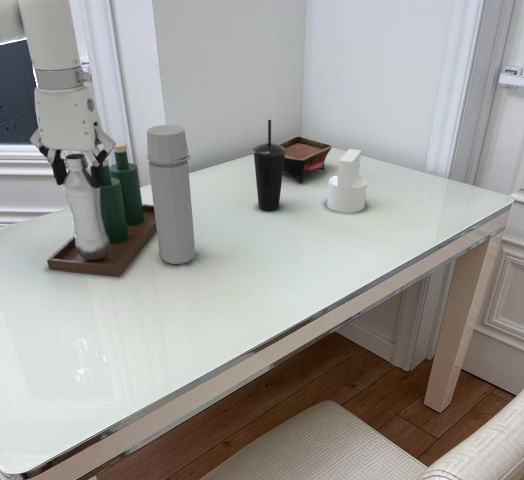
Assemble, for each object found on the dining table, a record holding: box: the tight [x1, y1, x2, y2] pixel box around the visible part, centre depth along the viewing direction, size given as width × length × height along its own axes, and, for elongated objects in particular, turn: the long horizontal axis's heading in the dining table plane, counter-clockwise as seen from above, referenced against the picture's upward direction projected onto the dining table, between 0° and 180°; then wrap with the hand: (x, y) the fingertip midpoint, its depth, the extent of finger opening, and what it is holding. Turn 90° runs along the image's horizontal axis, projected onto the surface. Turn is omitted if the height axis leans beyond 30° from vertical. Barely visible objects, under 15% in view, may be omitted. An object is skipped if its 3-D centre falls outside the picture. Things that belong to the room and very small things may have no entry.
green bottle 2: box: [100, 157, 129, 243], centre depth 113 cm, size 6×6×17 cm
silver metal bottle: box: [62, 152, 110, 260], centre depth 105 cm, size 6×7×20 cm
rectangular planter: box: [277, 135, 333, 184], centre depth 149 cm, size 14×18×10 cm
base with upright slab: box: [326, 148, 368, 214], centre depth 129 cm, size 9×9×12 cm
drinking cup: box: [251, 119, 286, 212], centre depth 126 cm, size 8×8×20 cm
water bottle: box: [146, 124, 196, 265], centre depth 105 cm, size 9×8×25 cm
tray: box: [46, 203, 157, 278], centre depth 117 cm, size 15×30×2 cm, turn 168°
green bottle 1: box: [109, 142, 144, 226], centre depth 120 cm, size 6×6×17 cm
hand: (80, 183), depth 102 cm, fingers closed on silver metal bottle, 6 cm apart
